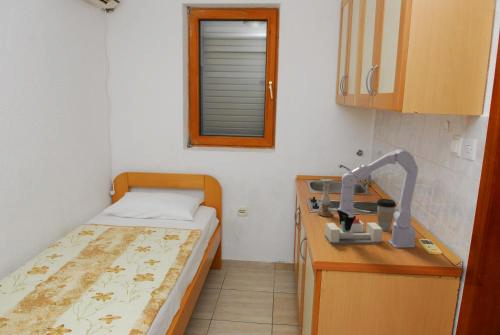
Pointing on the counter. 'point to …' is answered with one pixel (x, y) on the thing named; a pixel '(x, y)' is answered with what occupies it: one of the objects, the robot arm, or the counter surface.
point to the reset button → (356, 220)
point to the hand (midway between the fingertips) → (345, 227)
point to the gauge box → (357, 227)
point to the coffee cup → (385, 213)
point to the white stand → (370, 237)
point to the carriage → (345, 232)
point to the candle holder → (325, 198)
